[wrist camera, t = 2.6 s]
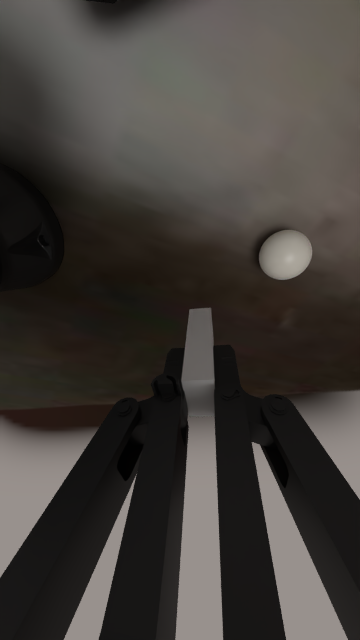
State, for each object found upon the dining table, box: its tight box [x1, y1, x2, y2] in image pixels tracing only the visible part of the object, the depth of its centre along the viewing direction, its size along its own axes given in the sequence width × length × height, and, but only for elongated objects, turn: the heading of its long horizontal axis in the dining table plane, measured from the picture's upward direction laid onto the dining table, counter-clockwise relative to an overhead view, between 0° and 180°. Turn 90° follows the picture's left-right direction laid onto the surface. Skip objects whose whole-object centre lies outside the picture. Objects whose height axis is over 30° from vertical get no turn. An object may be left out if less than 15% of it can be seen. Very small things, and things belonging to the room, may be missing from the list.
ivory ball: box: [259, 230, 312, 280], centre depth 25 cm, size 6×6×6 cm
